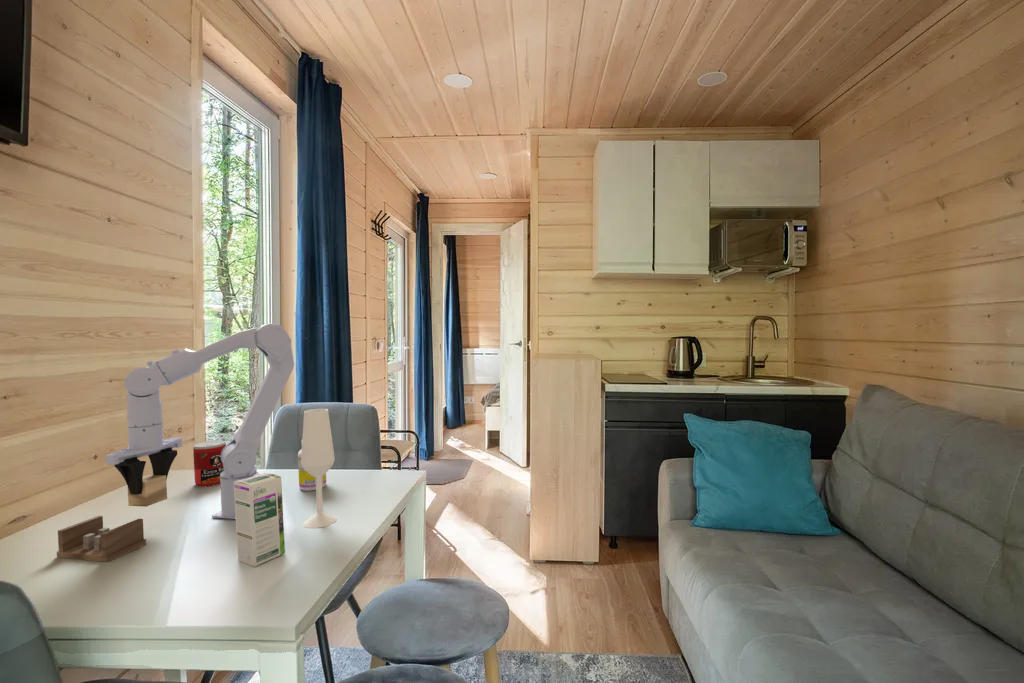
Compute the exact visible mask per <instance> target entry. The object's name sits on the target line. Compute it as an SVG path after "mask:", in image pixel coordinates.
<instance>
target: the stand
mask: <svg viewBox="0 0 1024 683" xmlns="http://www.w3.org/2000/svg"><path fill="white" fill-rule="evenodd" d="M103 520H104V518H103V515H98V516H94V517H92V518H89V519H87V520H84V521H81V522H78V523H74V524H73V525H70V526H67V527H64V528H61V529H59V530H57V539H58V540H57V543H58V551H56V557H57V558H64V559H74V560H83V561H95V562H106V563H109V562H111V561H114V560H115V559H117V558H120V557H122V556H124V555H126V554H128V553H130V552H133V551H134V550H137V549H139V548H141V547H143V546H146V545H147V539H146V538H144V537H145V536H144V535H145V531H144V518H137V519H134V520H132V521H130V522H127V523H124V524H122V525H120V526H117V527H114V528H112V529H110V527H104V521H103Z"/></svg>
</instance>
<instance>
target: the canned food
mask: <svg viewBox="0 0 1024 683" xmlns="http://www.w3.org/2000/svg"><path fill="white" fill-rule="evenodd" d="M226 445H227V442H226V440H222V439H221V440H220V439H218V440H208V441H202V442H198V443H196V444H193V449H192V450H193V454H192V455H193V470H194V471H193V472H194V474H193V476H194V483H195V486H196V487H199V486H201V487H200V488H203V487H204V486H207V487H212V486H213V485H214V486H216V485H221V484H220V474H221V473H222V472H223V471H224V467H223V463H222V461H221V452H222V450H223V449H224V447H225V446H226ZM204 488H205V487H204Z"/></svg>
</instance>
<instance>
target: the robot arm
mask: <svg viewBox="0 0 1024 683" xmlns="http://www.w3.org/2000/svg"><path fill="white" fill-rule="evenodd" d="M239 349H258V350H259V351H260V352H261V353H262V354H263V355H264V357H265V359H266V361H267V363H268V365H269V368H268V370H267V371H266V374H265V376H264V378H263V380H262V382H261V385H260V386H259V388H258V390H257V393H256V394H255V397H253V398H254V399H253V401H252V403H251V404H250V407H249V409H248V410H247V413H246V415H245V417H244V419H243V421H242V423H241V425H240V427H239V429H238V430H237V432H236V433H235V434H234V436H233V437H232V440H230V442H229V443H227V444H226V446H225V447H224V449H223V450H222V452H221V461H222V463H223V467H224V471H223V472H222V473H221V474H220V484H219V485H220V503H221V506H220V507H221V508H220V509H221V510H220V511H218V512H216V513H214V514H212V515H211V518H214V519H215V518H217V519H230V520H236V515H235V497H234V482H235V481H238V480H243V479H246V478H250V477H254V476H257V475H261V474H262V473H259V472H258V471H257V467H256V463H257V451H258V449H259V447H260V442H261V437H262V435H263V432H264V431H265V429H266V427H267V425H268V423H269V420H270V418H271V417H272V414H273V412H274V409H275V407H277V406H276V405H277V404H278V402H279V399H280V397H281V395H282V394H283V391H284V389H285V386H286V384H287V382H288V380H289V378H290V376H291V374H292V372H293V370H294V367H295V362H294V357H293V356H294V355H293V349H292V339H291V337H290V336H289V334H288V332H287V331H286V329H285V328H284V327H283V326H281V325H280V324H277V323H267V324H262V325H259V326H258V327H252V328H249V329H245V330H241V331H237V332H235V333H233V334H230V335H229V336H226V337H224V338H222V339H220V340H218V341H215V342H213V343H211V344H208V345H206V346H204V347H202V348H200V349H198V350H196V351H195V350H192V349H188V348H183V349H181V350H180V349H178V348H176V349H174V350H172V351H171V354H169V355H166V356H164V357H162V358H160V359H158V360H157V359H156V360H155V361H153V360H148V361H147V362H145V363H146V367H145V366H141V367H140V366H139V367H137V368H135V369H133V370H131V371H130V372H128V373H127V375H126V376H125V379H124V388H125V389H126V391H128V392H127V395H126V401H127V404H126V417H127V419H126V421H127V423H126V424H127V438H128V439H127V441H128V446H126V447H127V448H126V447H125V448H124V449H121V450H117V451H115V452H112V453H108V454H105V465H106V466H108V465H109V466H114V468H116V470H118V472H119V473H120V475H121V476H122V477H123V479H124V481H125V483H126V486H127V489H128V488H129V491H130V494H133V495H139V494H142V489H143V481H142V478H143V477H144V471H145V467H146V463H147V461H146V460H140V458H142V457H145V456H148V458H149V461H150V464H151V469H152V475H166V481H167V479H168V475H169V472H170V469H171V468H172V467H171V466H172V464H173V463H174V460H175V459H176V457H177V456H178V450H177V449H175V448H182V447H183V438H182V437H174V438H173V437H171V438H168V439H164V424H163V423H164V422H163V420H164V418H163V402H162V401H161V393H160V392H161V391H160V389H161V386H166V387H167V386H171V385H172V384H175V383H177V382H179V381H182V380H183V379H187V378H189V377H191V376H193V375H195V374H197V373H199V372H200V371H201V369H202V366H203V364H205V363H207V362H210V361H212V360H214V359H217V358H220V357H222V356H226V355H227V354H229V353H232V352H234V351H236V350H237V351H238V350H239Z"/></svg>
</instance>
